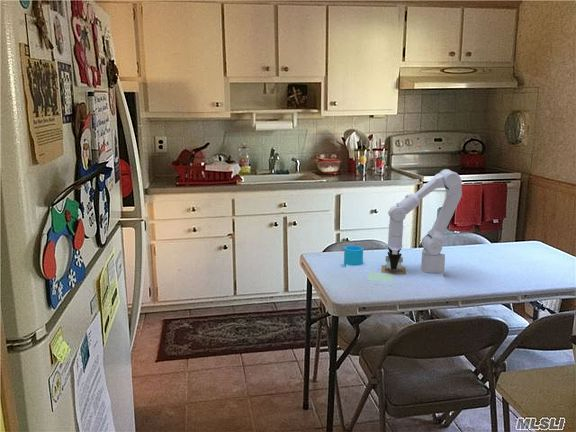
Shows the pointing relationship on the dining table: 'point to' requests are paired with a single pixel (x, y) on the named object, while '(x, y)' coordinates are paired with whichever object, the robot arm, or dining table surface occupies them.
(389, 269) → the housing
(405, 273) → the stand
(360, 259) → the mug
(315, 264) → the dining table surface
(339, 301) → the dining table surface
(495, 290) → the dining table surface
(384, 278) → the stand
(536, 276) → the dining table surface
